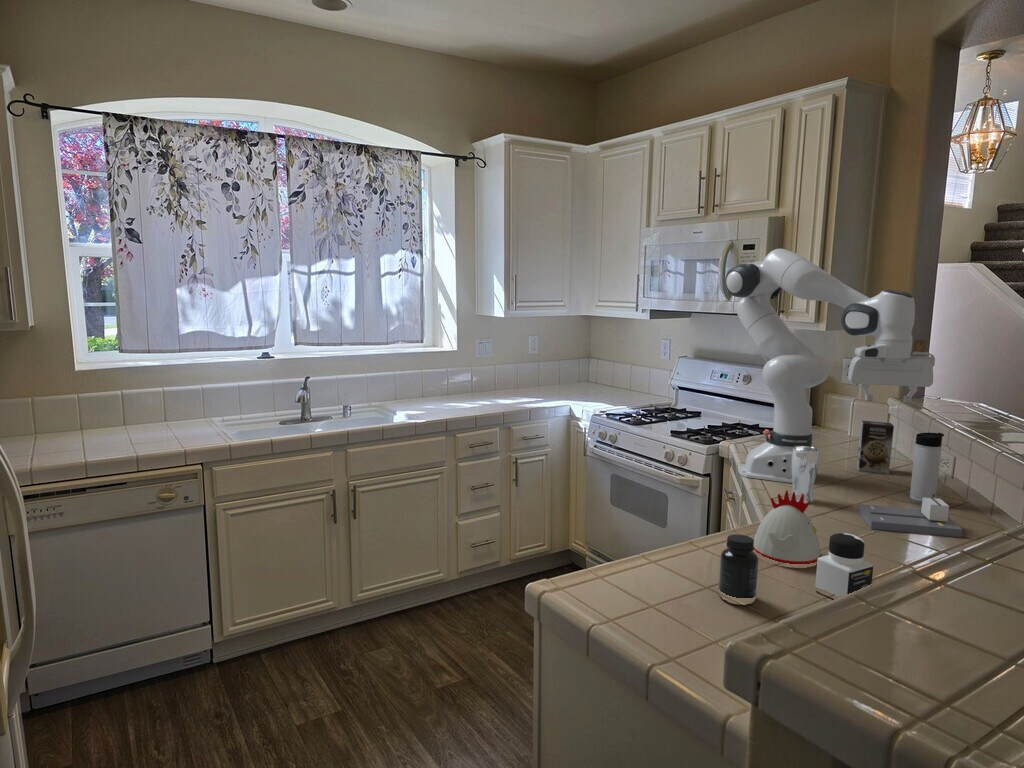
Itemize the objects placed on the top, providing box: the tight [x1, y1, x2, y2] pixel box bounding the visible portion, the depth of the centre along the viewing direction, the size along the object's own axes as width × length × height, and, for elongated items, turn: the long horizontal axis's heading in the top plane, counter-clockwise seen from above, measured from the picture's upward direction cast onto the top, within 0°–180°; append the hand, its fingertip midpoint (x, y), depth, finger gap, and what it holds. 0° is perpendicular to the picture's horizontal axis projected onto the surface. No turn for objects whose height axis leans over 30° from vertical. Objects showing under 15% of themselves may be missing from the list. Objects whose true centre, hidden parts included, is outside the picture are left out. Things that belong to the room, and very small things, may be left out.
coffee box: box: [856, 420, 895, 475], centre depth 220 cm, size 9×6×16 cm
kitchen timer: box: [753, 490, 821, 564], centre depth 148 cm, size 14×14×15 cm
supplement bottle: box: [718, 533, 759, 598], centre depth 128 cm, size 7×7×12 cm
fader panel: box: [856, 503, 963, 538], centre depth 171 cm, size 20×14×2 cm
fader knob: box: [921, 497, 950, 522], centre depth 169 cm, size 4×6×4 cm, turn 165°
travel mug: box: [909, 432, 945, 506], centre depth 187 cm, size 6×7×20 cm
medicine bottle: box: [814, 532, 874, 597], centre depth 129 cm, size 7×7×12 cm
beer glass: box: [789, 446, 820, 504], centre depth 188 cm, size 7×7×15 cm
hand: (887, 401), depth 182 cm, fingers open, 8 cm apart
